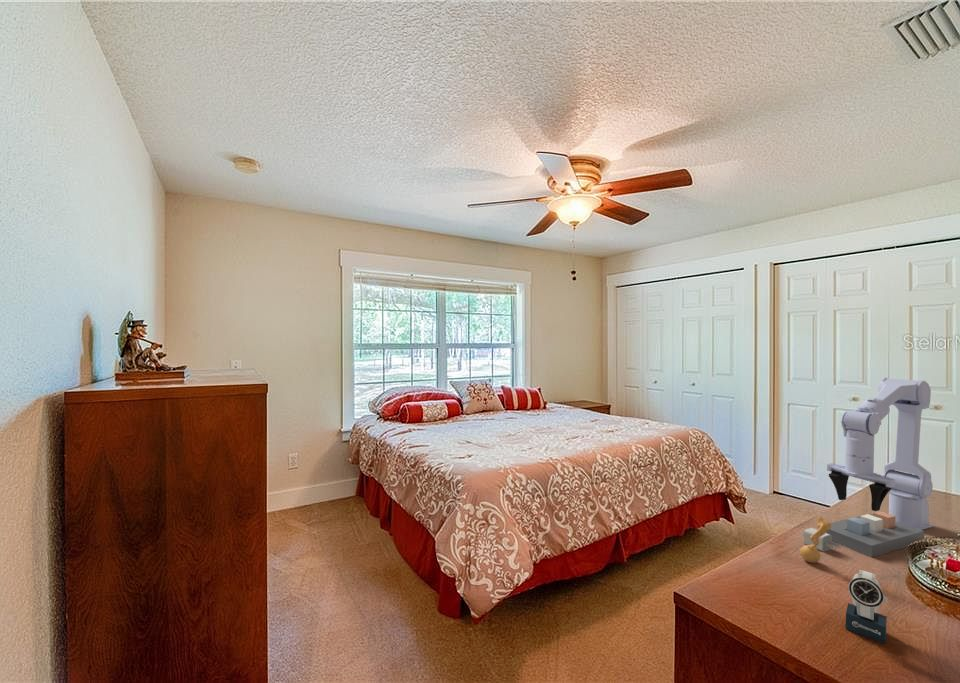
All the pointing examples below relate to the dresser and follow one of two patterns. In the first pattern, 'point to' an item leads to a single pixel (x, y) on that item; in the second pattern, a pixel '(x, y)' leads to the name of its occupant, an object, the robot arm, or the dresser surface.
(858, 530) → the blue key
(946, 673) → the dresser surface
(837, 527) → the key panel
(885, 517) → the terracotta key
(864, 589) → the watch
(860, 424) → the robot arm
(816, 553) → the figurine
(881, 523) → the white key
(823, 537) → the usb wall charger
